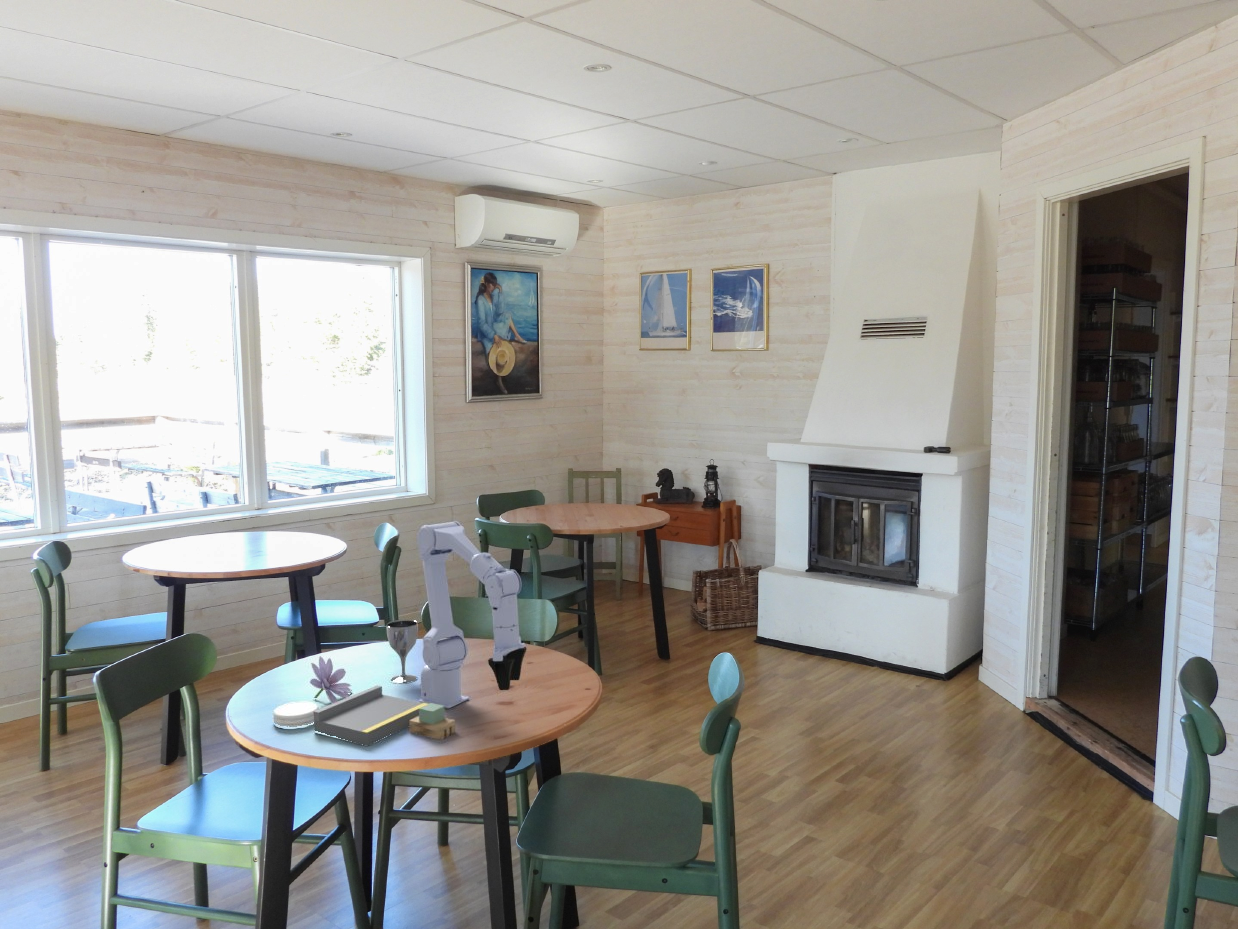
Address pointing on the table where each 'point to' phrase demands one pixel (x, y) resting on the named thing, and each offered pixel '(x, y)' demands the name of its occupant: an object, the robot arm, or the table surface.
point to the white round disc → (295, 714)
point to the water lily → (330, 680)
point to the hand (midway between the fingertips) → (509, 684)
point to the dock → (366, 716)
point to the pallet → (432, 728)
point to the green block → (431, 713)
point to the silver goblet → (402, 643)
